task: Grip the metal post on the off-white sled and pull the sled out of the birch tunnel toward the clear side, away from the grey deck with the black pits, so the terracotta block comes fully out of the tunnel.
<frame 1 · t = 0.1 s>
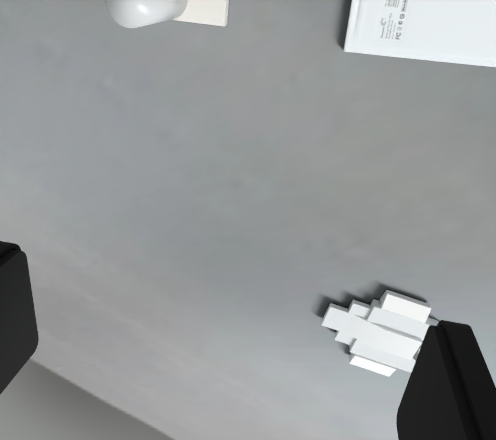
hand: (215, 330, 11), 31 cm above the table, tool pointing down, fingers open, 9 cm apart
toy rocket: (398, 330, 48), on the table
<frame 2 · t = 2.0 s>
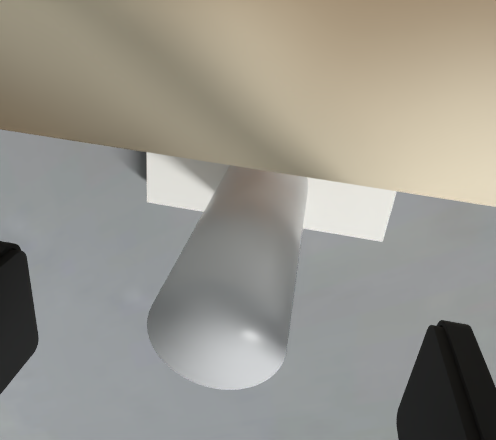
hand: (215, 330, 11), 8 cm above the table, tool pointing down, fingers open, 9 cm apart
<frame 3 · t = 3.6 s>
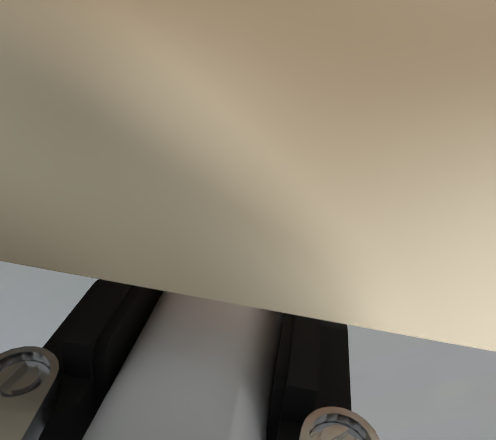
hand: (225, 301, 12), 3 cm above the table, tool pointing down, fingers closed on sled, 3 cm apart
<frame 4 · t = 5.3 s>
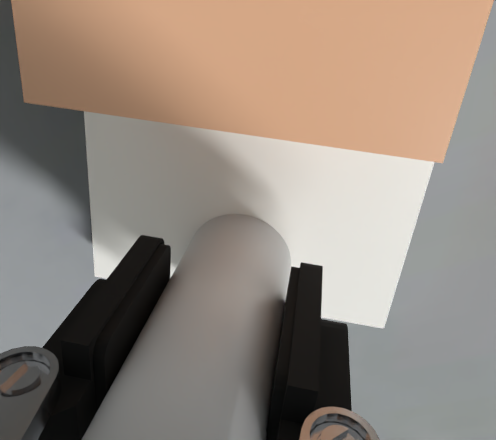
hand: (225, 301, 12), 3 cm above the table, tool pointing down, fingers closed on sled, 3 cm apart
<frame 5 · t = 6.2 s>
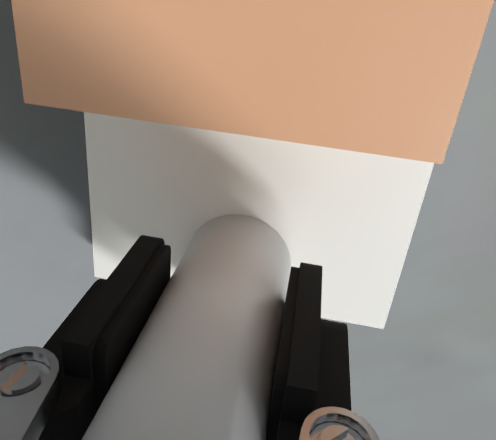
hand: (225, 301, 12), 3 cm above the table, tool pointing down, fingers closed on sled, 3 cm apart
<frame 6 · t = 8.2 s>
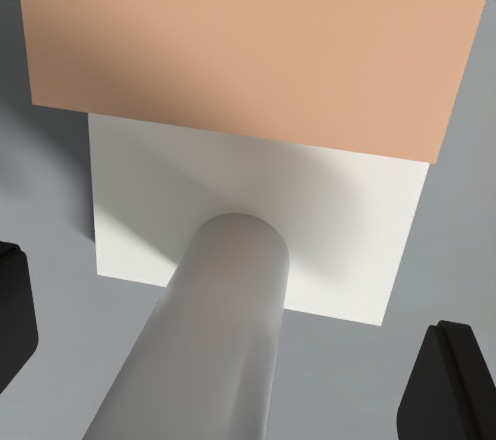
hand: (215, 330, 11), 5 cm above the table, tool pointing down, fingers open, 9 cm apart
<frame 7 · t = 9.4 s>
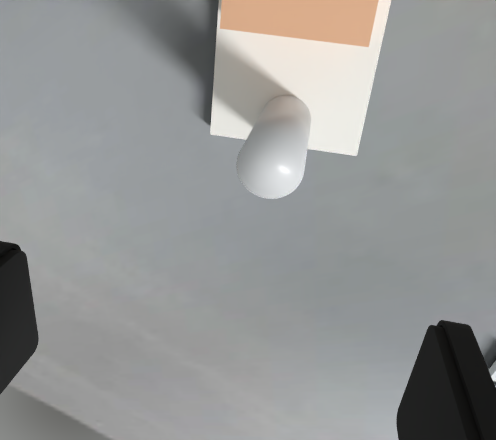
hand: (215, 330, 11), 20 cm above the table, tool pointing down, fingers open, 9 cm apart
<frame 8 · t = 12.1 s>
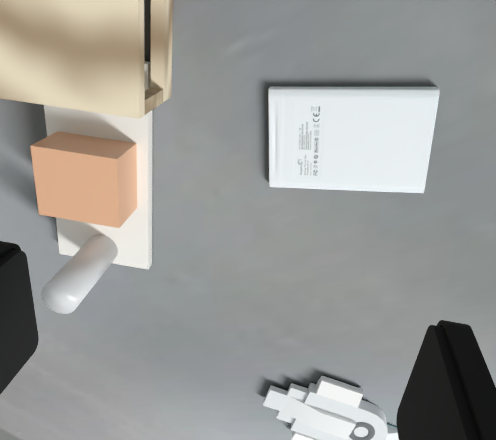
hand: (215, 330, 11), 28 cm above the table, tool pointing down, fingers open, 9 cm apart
sled: (79, 185, 37), point 5 cm above the table, slide at 11.9 cm
tunnel: (97, 21, 36), on the table
external hard drive: (347, 136, 37), on the table
toy rocket: (336, 408, 51), on the table
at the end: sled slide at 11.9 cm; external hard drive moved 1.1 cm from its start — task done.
